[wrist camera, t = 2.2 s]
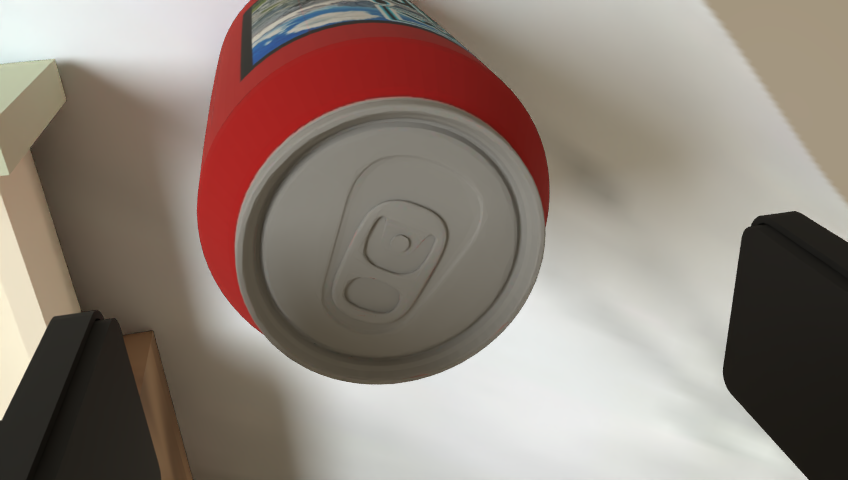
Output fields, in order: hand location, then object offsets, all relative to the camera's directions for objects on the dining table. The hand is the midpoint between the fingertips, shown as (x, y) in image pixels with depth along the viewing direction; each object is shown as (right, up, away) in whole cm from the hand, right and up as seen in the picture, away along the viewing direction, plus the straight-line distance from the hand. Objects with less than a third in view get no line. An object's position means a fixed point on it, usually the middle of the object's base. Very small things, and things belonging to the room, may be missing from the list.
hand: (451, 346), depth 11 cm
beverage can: (-3, +7, +12) cm, 14 cm away
